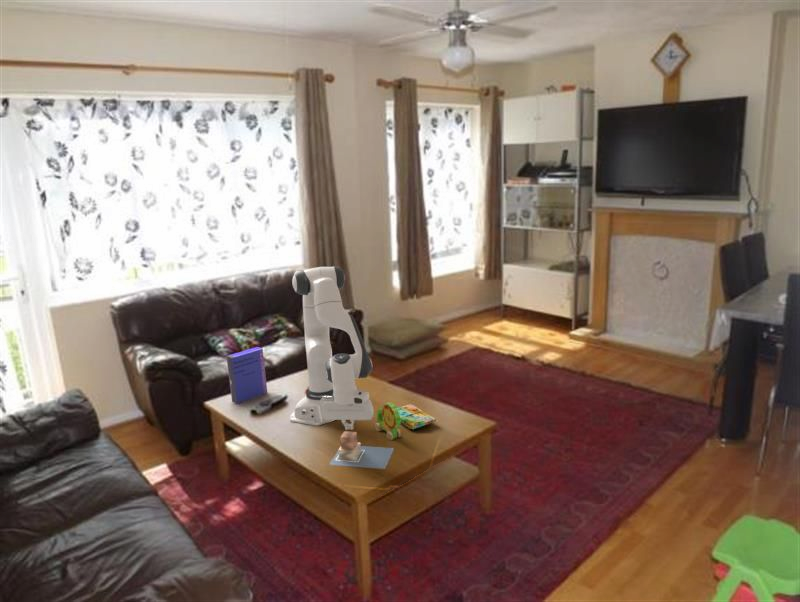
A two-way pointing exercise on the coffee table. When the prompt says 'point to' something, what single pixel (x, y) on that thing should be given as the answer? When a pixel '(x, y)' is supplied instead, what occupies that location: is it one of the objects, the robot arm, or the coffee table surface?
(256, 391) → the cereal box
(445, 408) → the coffee table surface
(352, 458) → the ash base block
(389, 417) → the toy lion
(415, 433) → the coffee table surface
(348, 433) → the terracotta cube
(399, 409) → the puzzle game
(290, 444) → the coffee table surface
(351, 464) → the board
